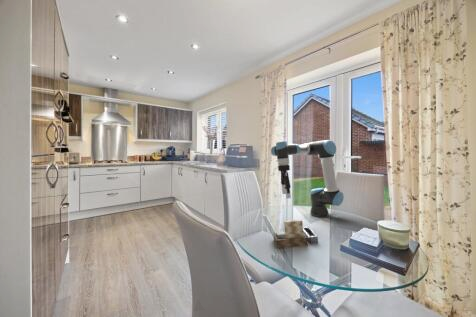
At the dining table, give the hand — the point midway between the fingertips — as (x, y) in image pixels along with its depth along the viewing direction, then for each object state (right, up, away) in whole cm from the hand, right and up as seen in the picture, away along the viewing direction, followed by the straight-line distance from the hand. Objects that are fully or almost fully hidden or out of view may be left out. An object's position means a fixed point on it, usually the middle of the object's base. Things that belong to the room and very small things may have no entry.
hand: (286, 196), depth 132 cm
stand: (+15, -28, -1) cm, 32 cm away
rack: (+1, -29, -5) cm, 30 cm away
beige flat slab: (+4, -29, -8) cm, 30 cm away
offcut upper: (-4, -27, -3) cm, 27 cm away
